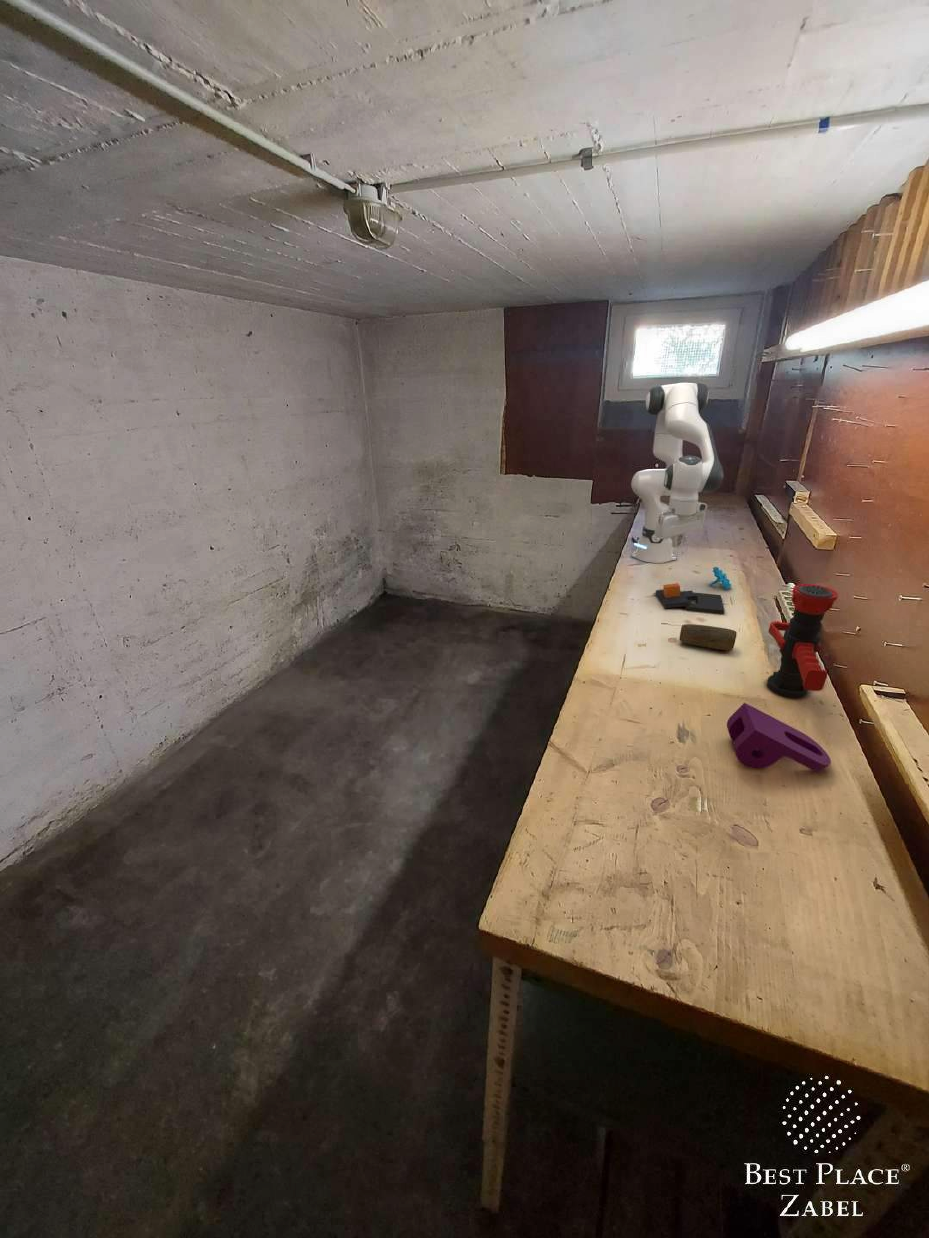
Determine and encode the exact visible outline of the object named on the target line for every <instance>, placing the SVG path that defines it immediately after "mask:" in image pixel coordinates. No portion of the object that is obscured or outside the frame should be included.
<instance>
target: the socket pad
mask: <svg viewBox="0 0 929 1238" xmlns="http://www.w3.org/2000/svg"><path fill="white" fill-rule="evenodd" d="M694 594H695V595H696V600H695V601H696V603H694V602H693V603H692V602H689V605H687V606H684V610H685V611H687V612H688V611H689V612H698V613H704V614H705V613H706V614H715V615H724V614H725V608H724V603H723V597H722V595H721V594H716V593H715V594H714V593H713V594H712V593H703V592H694Z"/></svg>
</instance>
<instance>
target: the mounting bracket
mask: <svg viewBox="0 0 929 1238" xmlns="http://www.w3.org/2000/svg"><path fill="white" fill-rule="evenodd" d="M726 728H727V729H726V730H727V732H728V734H729V737H730V739H731V740H732V741H733V750H734V753H735V757H736V759H737V760H738V762H739V763H740V764H741V765H743V766H745V767H747V768H749V769H756V770H758V769H765V768H768V767H771V766H773V765H774V764H776V763H777V762H778V761H779V760H780V759H781V758H784V757H787V758H788V759H791V760H793V761H794V762H796V763H798V764H800V765H802V766H804V767H806V768H808V769H810V770H812V771H815V772H823V771H824V770H825V769H826V768H828V767H829V766H830V765H831V764H832V760H831V757H830V756H829V754H828V753H827V752H826V750H825V749H824V748H823V746H821V745H820V744H819V743H818V742H816V740H814V739H813V738H811V737H810V736H809V735H807V734H806V733H804V732H802V731H800V730H798V729H796V728H795V727H794V726H790V725H789V724H787V723H785V722H783V721H781V720H779V719H777V718H775V717H774V716H771V715H769V714H768V713H765V712H764V711H762V710H760V709H758V708H756V707H754V706H752V705H751V704H748V703H746V702H743V703H742V705H740V706H739V707H738V708H737V710H735V711H734V712H733V713H732V715H730V717H729V718H728V719H727V721H726Z"/></svg>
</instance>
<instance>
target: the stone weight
mask: <svg viewBox="0 0 929 1238" xmlns="http://www.w3.org/2000/svg"><path fill="white" fill-rule="evenodd" d="M737 635H738V633H737V631H736V630H734V629H730V628H726V627H719V626H713V625H704V624H695V623H685V624H682V625H681V627H680V632H679V637H678V640H679V641H680V642H682V643H685V644H688V645H692V646H696V647H700V648H701V647H703V648H708V649H713V650H719V651H721V650H722V651H732V650H733V649H734V647H735V644H736V640H737Z"/></svg>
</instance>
